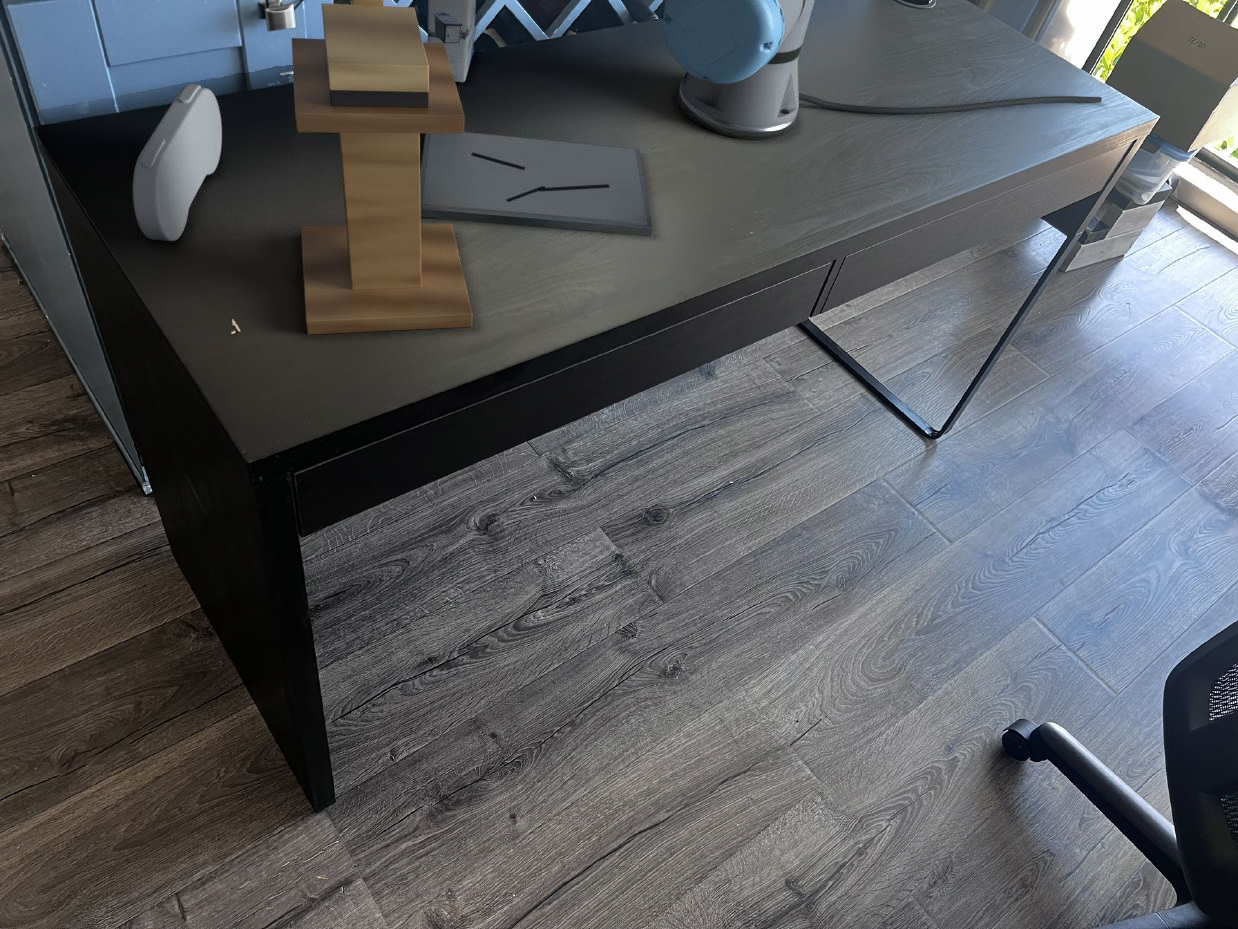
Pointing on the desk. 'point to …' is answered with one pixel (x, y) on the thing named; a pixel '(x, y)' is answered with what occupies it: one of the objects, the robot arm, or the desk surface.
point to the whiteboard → (534, 183)
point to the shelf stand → (379, 210)
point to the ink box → (453, 31)
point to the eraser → (375, 55)
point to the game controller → (177, 163)
